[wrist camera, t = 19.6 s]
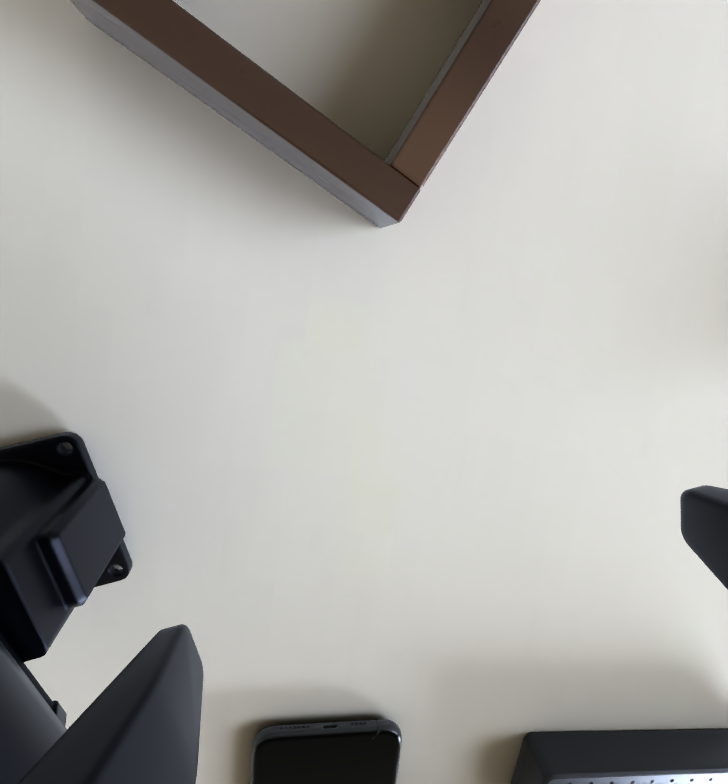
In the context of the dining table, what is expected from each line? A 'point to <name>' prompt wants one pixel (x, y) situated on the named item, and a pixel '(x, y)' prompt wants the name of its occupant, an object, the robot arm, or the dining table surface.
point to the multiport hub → (624, 757)
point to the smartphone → (327, 753)
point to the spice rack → (302, 121)
